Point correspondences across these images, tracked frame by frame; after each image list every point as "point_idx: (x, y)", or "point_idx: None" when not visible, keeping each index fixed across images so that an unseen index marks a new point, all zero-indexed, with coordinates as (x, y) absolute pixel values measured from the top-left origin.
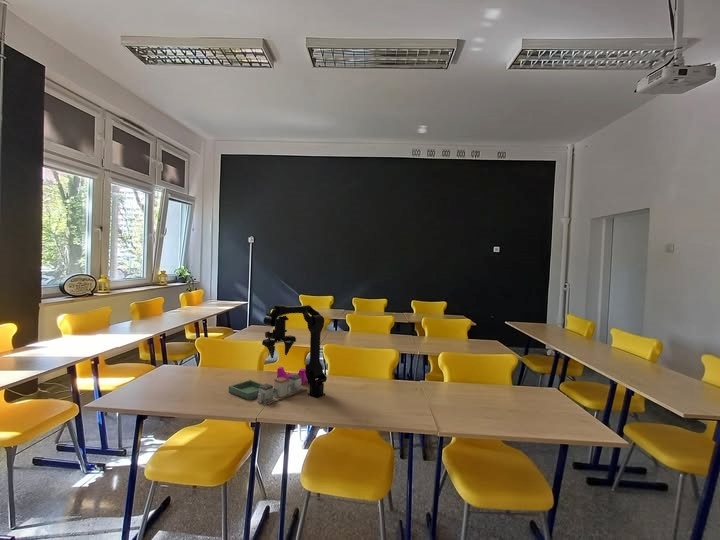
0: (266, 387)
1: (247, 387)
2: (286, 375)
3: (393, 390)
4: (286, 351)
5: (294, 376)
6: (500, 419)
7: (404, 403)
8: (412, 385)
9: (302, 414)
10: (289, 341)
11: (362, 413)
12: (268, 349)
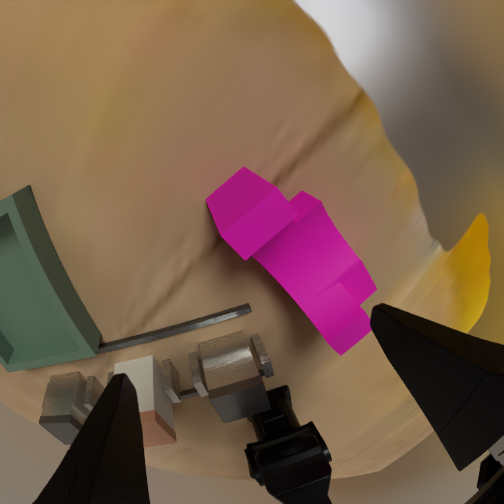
0: (69, 442)
1: (7, 234)
2: (274, 241)
3: (408, 397)
4: (401, 360)
5: (238, 406)
6: (375, 459)
7: (360, 440)
8: None
9: (159, 459)
10: (497, 459)
11: None
12: (49, 491)
